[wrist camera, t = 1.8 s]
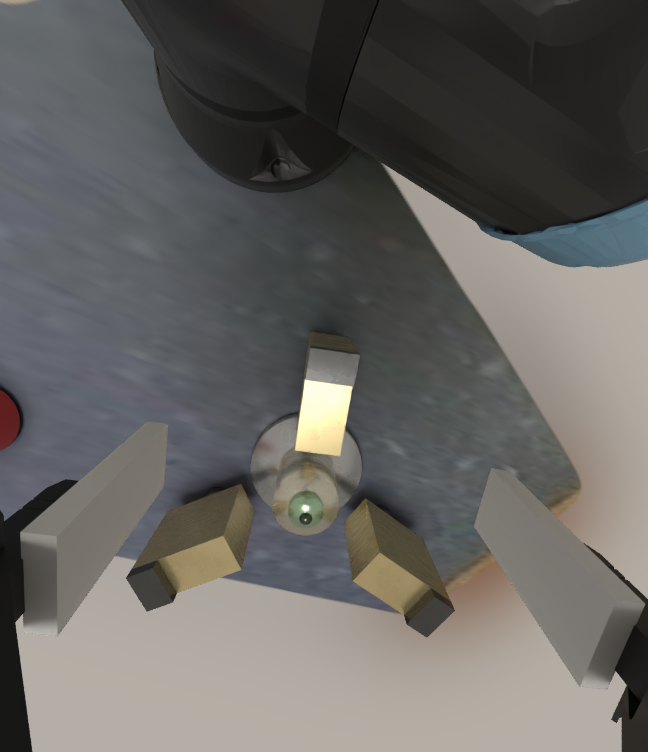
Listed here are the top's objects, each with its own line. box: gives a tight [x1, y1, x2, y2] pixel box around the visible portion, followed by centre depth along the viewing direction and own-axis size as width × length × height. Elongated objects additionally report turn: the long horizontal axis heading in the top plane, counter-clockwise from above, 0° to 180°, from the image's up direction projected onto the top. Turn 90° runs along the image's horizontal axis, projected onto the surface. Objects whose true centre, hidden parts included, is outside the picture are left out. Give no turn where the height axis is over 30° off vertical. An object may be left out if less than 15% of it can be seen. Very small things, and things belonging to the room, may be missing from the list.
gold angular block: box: [295, 331, 360, 456], centre depth 27 cm, size 7×3×8 cm, turn 171°
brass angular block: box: [344, 498, 455, 637], centre depth 31 cm, size 7×3×8 cm, turn 51°
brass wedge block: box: [126, 484, 255, 611], centre depth 30 cm, size 7×3×8 cm, turn 111°
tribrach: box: [206, 413, 391, 535], centre depth 32 cm, size 18×16×8 cm
